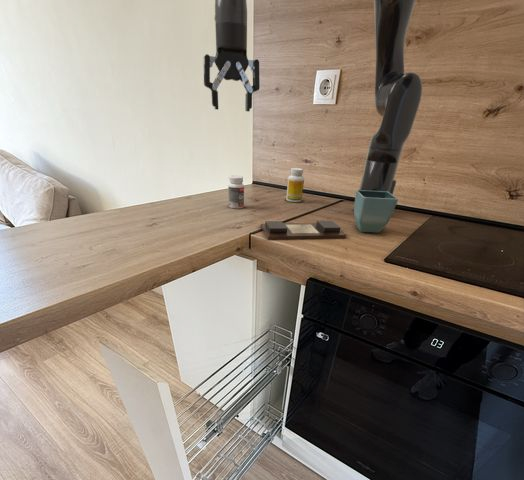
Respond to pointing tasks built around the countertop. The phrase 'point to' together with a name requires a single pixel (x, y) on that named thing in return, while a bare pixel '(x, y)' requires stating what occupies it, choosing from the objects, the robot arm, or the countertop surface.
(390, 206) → the flower pot
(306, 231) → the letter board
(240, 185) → the pill bottle
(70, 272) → the countertop surface
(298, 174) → the supplement bottle
